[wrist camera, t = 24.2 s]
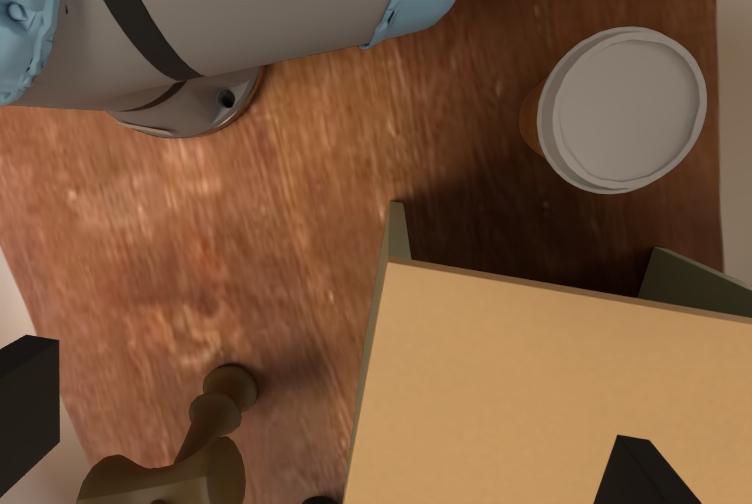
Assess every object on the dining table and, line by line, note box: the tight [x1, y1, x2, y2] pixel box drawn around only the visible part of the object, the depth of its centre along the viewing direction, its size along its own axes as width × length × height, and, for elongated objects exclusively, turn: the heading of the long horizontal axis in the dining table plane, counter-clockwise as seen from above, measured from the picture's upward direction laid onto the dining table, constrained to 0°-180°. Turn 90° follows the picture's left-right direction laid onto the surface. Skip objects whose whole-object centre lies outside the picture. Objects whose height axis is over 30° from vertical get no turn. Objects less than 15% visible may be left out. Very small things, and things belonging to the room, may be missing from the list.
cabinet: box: [342, 201, 752, 504], centre depth 33 cm, size 15×24×19 cm, turn 80°
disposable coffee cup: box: [519, 26, 707, 194], centre depth 32 cm, size 10×10×12 cm
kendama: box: [76, 366, 258, 504], centre depth 36 cm, size 6×10×20 cm, turn 104°
